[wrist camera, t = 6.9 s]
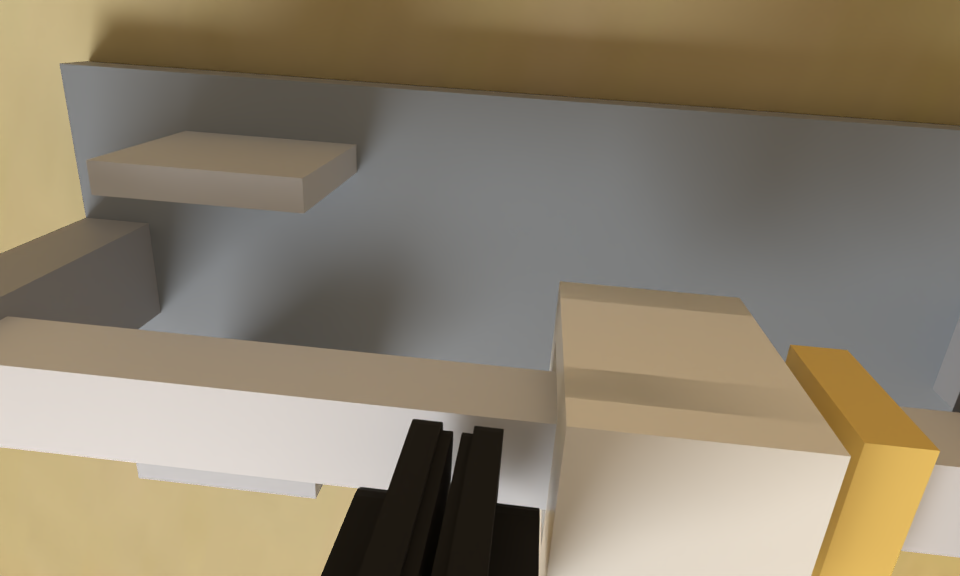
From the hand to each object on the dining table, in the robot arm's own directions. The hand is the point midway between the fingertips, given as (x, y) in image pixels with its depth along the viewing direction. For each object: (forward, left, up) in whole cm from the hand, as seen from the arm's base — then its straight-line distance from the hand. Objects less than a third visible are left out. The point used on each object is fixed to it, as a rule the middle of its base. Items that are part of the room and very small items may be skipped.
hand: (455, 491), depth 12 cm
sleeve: (0, +4, -4) cm, 6 cm away
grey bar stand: (0, +1, -10) cm, 10 cm away
